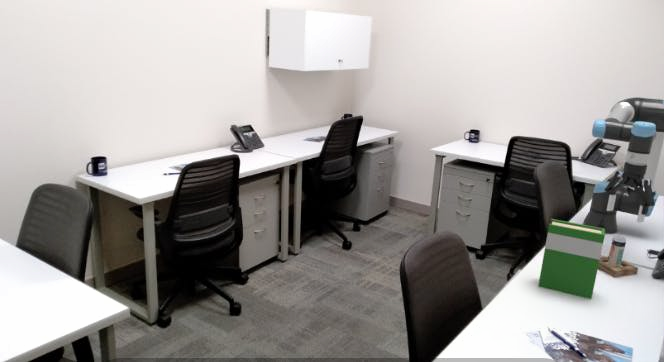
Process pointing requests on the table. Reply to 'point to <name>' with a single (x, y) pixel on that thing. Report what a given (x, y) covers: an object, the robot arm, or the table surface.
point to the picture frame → (616, 272)
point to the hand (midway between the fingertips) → (624, 216)
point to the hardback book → (571, 258)
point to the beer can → (616, 251)
